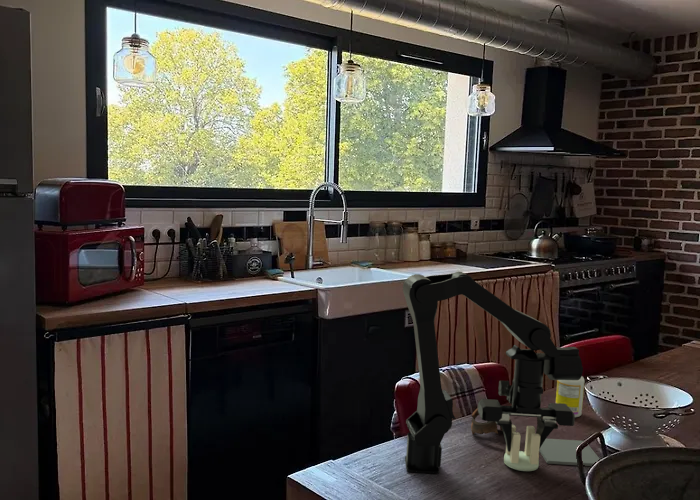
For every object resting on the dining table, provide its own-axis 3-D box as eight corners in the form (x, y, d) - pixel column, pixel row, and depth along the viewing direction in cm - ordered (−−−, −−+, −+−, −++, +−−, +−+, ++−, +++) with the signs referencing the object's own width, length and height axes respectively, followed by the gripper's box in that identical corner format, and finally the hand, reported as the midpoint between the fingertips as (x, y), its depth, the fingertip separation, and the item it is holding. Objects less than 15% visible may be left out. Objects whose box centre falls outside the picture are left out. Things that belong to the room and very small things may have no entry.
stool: (507, 470, 130) (510, 436, 129) (500, 455, 137) (503, 422, 136) (542, 472, 130) (545, 438, 129) (533, 457, 137) (536, 424, 136)
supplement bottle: (564, 407, 170) (568, 360, 169) (586, 415, 165) (591, 367, 163) (549, 411, 166) (553, 364, 165) (571, 420, 161) (576, 371, 159)
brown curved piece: (520, 446, 144) (508, 418, 142) (481, 459, 146) (468, 432, 144) (511, 415, 155) (499, 388, 153) (475, 427, 157) (462, 401, 155)
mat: (547, 463, 135) (547, 460, 135) (532, 440, 147) (532, 437, 147) (604, 466, 135) (604, 464, 135) (584, 443, 147) (585, 440, 147)
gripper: (562, 370, 139) (555, 438, 141) (476, 365, 139) (471, 433, 141) (578, 386, 128) (571, 460, 130) (485, 381, 128) (479, 455, 130)
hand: (522, 451), depth 133 cm, fingers closed on stool, 5 cm apart
